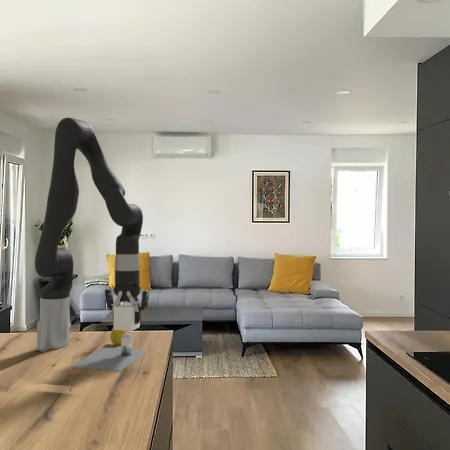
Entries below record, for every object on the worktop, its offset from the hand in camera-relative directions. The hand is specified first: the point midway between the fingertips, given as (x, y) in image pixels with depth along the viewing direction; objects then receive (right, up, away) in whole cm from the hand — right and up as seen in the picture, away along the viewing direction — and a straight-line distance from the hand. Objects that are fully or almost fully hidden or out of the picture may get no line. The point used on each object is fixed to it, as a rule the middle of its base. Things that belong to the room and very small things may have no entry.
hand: (127, 322), depth 154 cm
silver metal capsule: (0, -10, 0) cm, 10 cm away
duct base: (-4, -11, -4) cm, 13 cm away
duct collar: (0, -2, 0) cm, 2 cm away
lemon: (-5, -11, +14) cm, 19 cm away
